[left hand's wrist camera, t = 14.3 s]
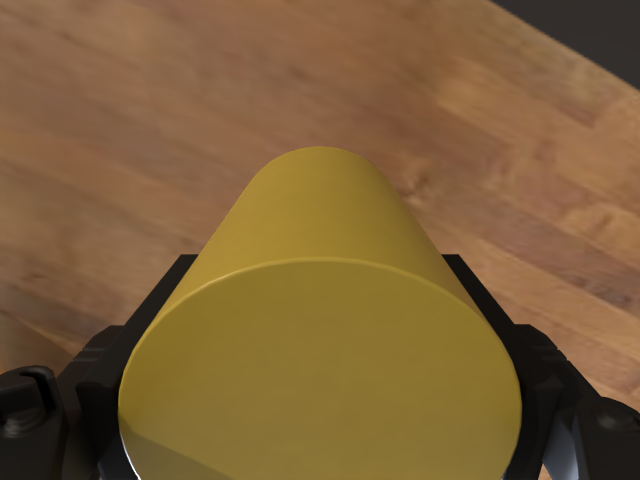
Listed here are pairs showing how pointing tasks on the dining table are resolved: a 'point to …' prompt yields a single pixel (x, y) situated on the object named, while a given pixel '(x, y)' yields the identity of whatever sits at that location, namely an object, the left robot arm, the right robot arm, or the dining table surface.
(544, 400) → the left robot arm
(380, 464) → the tin
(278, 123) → the dining table surface
